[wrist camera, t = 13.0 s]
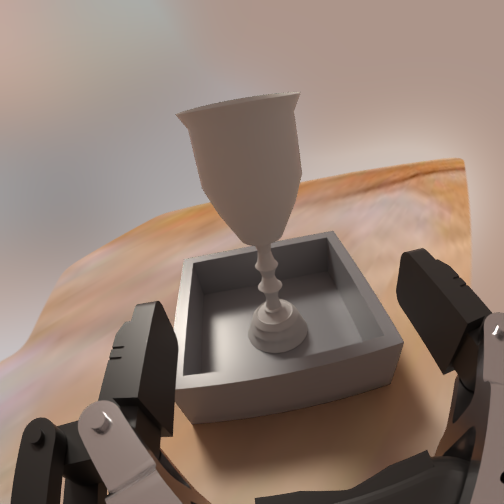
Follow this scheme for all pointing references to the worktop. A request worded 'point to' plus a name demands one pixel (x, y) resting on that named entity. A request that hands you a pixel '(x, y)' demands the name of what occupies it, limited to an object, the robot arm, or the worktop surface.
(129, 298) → the worktop surface
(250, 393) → the box
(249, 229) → the chalice
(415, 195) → the worktop surface
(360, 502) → the robot arm
